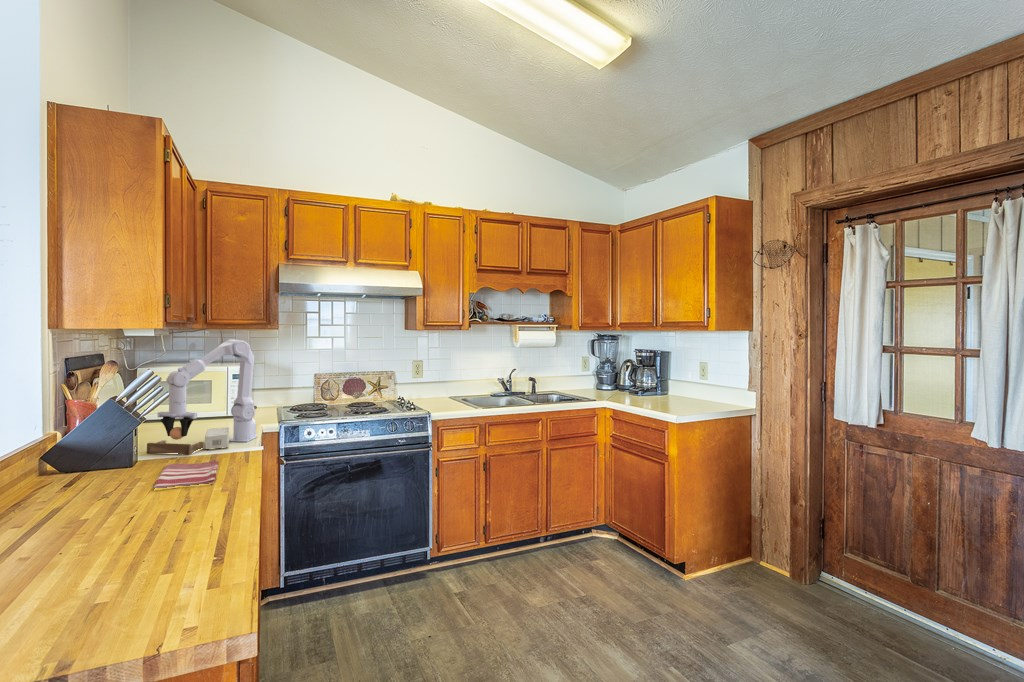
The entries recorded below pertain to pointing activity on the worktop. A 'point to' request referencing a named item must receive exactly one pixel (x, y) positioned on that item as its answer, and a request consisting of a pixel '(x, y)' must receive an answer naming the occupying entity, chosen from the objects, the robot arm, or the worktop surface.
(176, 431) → the ball
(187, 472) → the dish towel
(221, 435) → the skincare box
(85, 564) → the worktop surface
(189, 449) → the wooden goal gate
